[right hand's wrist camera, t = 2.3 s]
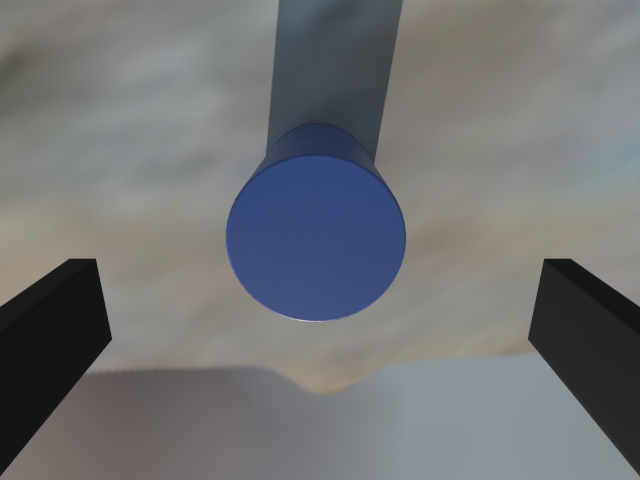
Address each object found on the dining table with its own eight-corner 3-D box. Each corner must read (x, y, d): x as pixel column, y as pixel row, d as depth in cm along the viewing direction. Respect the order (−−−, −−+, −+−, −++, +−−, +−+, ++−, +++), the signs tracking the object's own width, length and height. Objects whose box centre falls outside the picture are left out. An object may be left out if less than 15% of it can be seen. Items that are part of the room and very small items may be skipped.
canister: (344, 244, 30) (359, 345, 18) (249, 206, 29) (202, 287, 17) (389, 150, 27) (438, 198, 16) (287, 105, 26) (262, 122, 15)
